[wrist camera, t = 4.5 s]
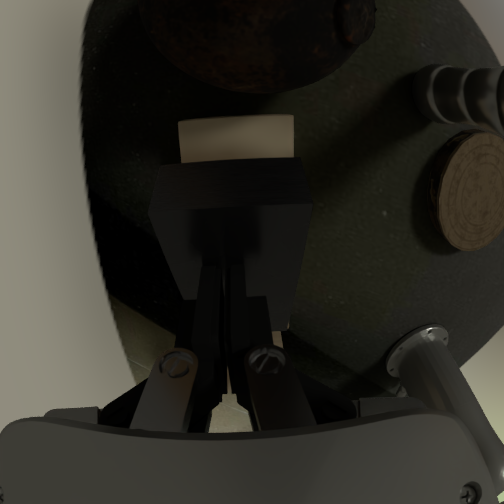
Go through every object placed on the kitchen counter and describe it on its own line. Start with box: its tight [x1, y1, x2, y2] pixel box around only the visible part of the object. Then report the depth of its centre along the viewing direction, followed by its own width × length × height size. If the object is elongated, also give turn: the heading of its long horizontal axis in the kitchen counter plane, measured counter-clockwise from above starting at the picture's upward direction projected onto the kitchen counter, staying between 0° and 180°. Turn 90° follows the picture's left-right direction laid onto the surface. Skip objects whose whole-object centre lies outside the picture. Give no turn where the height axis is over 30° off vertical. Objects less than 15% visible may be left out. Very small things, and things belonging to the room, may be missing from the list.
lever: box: [148, 157, 313, 332], centre depth 19 cm, size 23×5×3 cm, turn 5°
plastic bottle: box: [412, 63, 504, 137], centre depth 16 cm, size 6×7×20 cm
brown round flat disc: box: [427, 129, 504, 251], centre depth 29 cm, size 16×16×3 cm
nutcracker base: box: [178, 114, 294, 392], centre depth 27 cm, size 24×10×12 cm, turn 2°
